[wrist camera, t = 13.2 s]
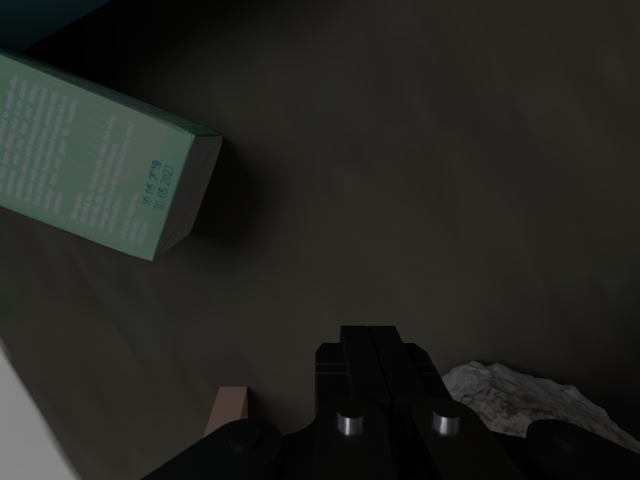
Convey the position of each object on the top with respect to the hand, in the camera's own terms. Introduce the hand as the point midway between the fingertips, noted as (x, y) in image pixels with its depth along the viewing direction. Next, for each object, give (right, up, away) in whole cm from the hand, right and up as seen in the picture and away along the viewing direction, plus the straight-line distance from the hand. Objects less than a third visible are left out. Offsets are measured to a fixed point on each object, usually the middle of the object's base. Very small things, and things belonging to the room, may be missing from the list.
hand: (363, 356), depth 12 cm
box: (-15, +9, +16) cm, 24 cm away
